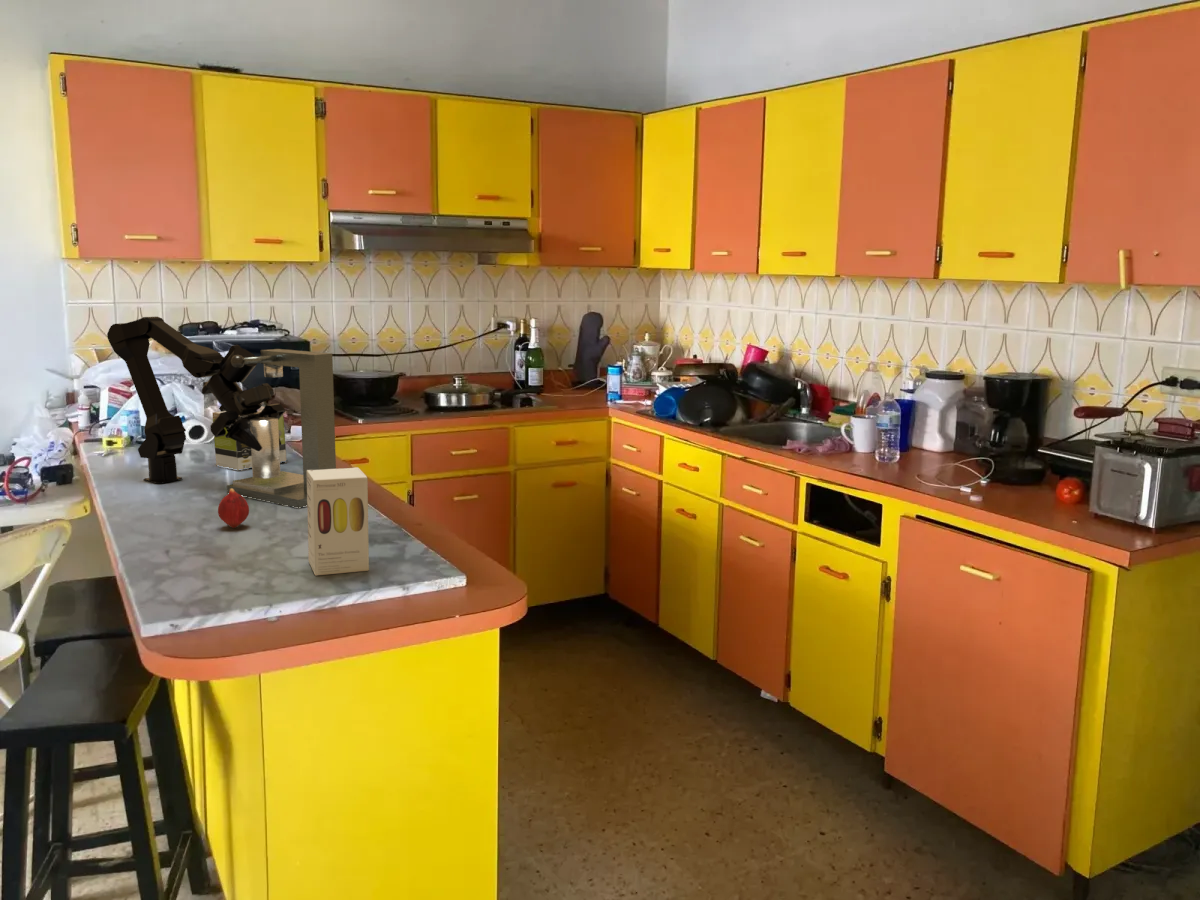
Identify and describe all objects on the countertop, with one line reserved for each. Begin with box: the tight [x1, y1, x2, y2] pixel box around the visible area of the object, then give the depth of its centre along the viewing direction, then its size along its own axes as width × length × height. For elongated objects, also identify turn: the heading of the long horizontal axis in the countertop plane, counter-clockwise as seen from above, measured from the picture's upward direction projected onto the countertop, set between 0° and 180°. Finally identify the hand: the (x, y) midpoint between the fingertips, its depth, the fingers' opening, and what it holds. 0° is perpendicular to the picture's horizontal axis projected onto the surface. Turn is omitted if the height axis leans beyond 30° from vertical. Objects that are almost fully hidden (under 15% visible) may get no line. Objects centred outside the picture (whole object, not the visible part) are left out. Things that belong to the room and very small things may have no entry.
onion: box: [217, 489, 250, 529], centre depth 196 cm, size 6×6×8 cm
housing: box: [250, 417, 281, 478], centre depth 223 cm, size 6×6×13 cm
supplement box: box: [306, 466, 370, 576], centre depth 171 cm, size 10×9×17 cm
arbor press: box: [226, 348, 337, 508], centre depth 220 cm, size 24×22×33 cm
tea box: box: [212, 405, 287, 470], centre depth 257 cm, size 15×10×15 cm
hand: (270, 447), depth 222 cm, fingers closed on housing, 6 cm apart
